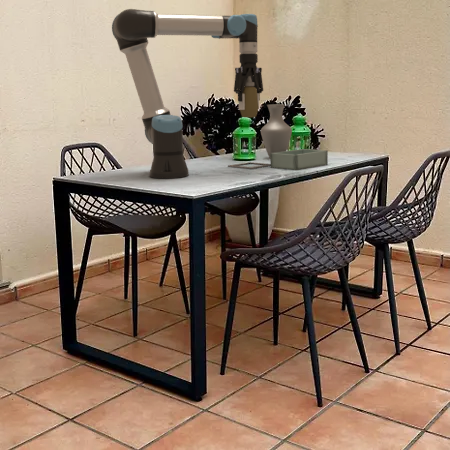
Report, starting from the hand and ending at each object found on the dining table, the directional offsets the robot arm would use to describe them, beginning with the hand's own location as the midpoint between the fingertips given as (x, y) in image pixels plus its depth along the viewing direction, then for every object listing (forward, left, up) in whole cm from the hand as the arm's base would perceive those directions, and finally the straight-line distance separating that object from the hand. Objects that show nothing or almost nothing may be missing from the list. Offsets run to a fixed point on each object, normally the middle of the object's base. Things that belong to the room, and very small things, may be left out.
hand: (248, 109), depth 268 cm
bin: (+12, -17, -24) cm, 32 cm away
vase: (+28, +10, -24) cm, 39 cm away
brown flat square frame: (0, 0, -24) cm, 24 cm away
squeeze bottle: (0, 0, -4) cm, 4 cm away
